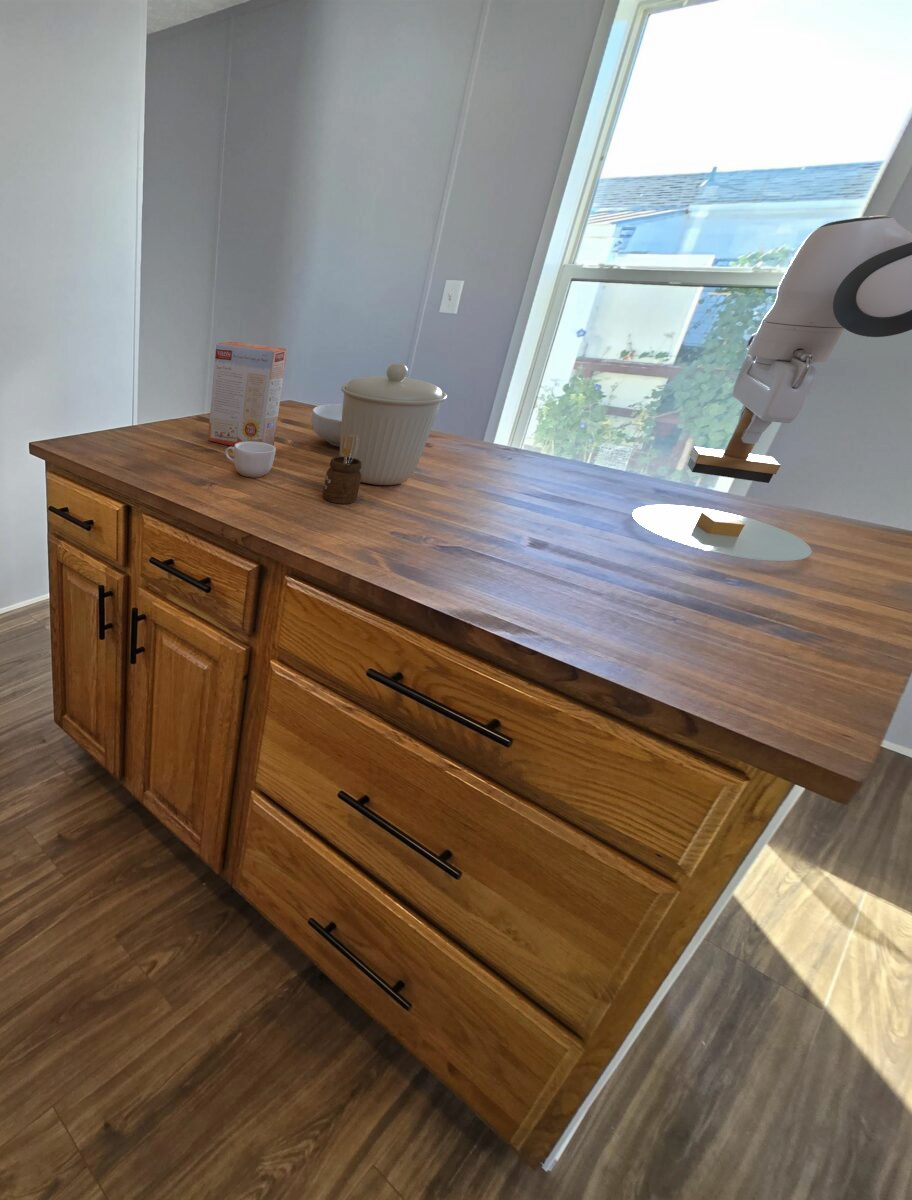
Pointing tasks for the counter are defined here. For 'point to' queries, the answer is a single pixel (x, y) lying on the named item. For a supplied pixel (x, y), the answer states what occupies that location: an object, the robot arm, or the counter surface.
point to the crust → (720, 524)
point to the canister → (388, 423)
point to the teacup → (252, 458)
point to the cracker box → (246, 393)
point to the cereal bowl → (328, 422)
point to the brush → (734, 458)
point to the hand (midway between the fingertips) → (744, 439)
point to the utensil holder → (343, 477)
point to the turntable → (750, 544)
